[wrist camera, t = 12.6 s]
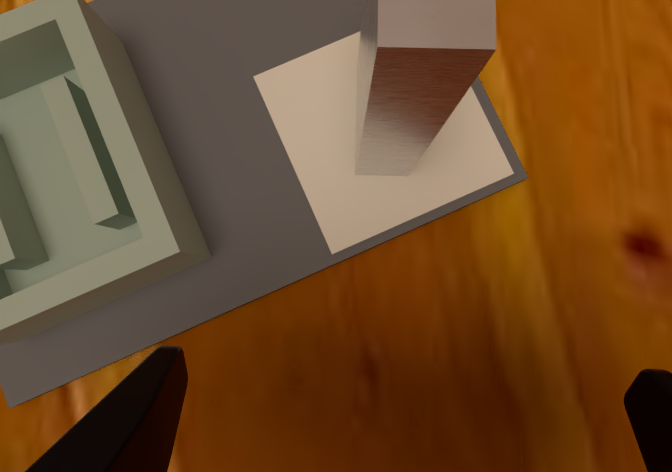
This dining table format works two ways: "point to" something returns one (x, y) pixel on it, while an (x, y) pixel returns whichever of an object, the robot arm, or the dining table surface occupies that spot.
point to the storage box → (80, 173)
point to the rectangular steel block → (415, 75)
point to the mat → (260, 168)
